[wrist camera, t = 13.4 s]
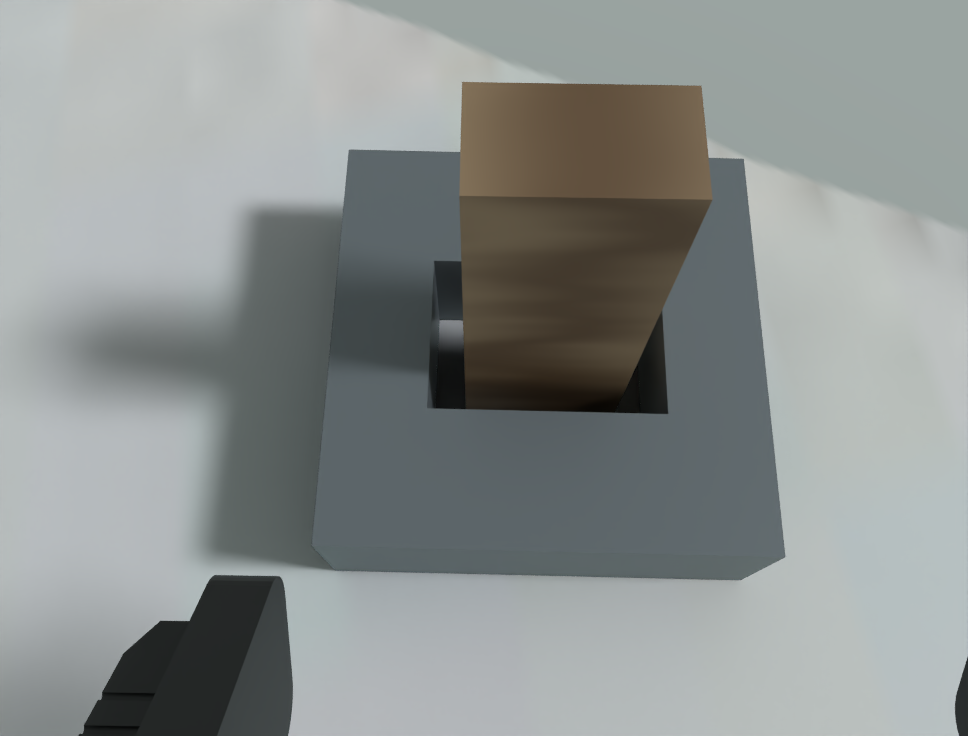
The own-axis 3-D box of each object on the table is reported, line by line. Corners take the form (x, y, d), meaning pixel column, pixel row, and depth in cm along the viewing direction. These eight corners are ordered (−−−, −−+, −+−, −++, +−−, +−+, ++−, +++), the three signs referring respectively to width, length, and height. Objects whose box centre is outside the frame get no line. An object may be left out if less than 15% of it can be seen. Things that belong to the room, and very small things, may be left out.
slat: (466, 424, 28) (459, 196, 16) (468, 350, 29) (462, 82, 16) (608, 425, 28) (712, 199, 16) (605, 352, 29) (701, 86, 16)
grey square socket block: (334, 570, 26) (311, 545, 22) (364, 219, 30) (348, 149, 27) (740, 580, 26) (785, 557, 22) (710, 227, 30) (743, 158, 27)
